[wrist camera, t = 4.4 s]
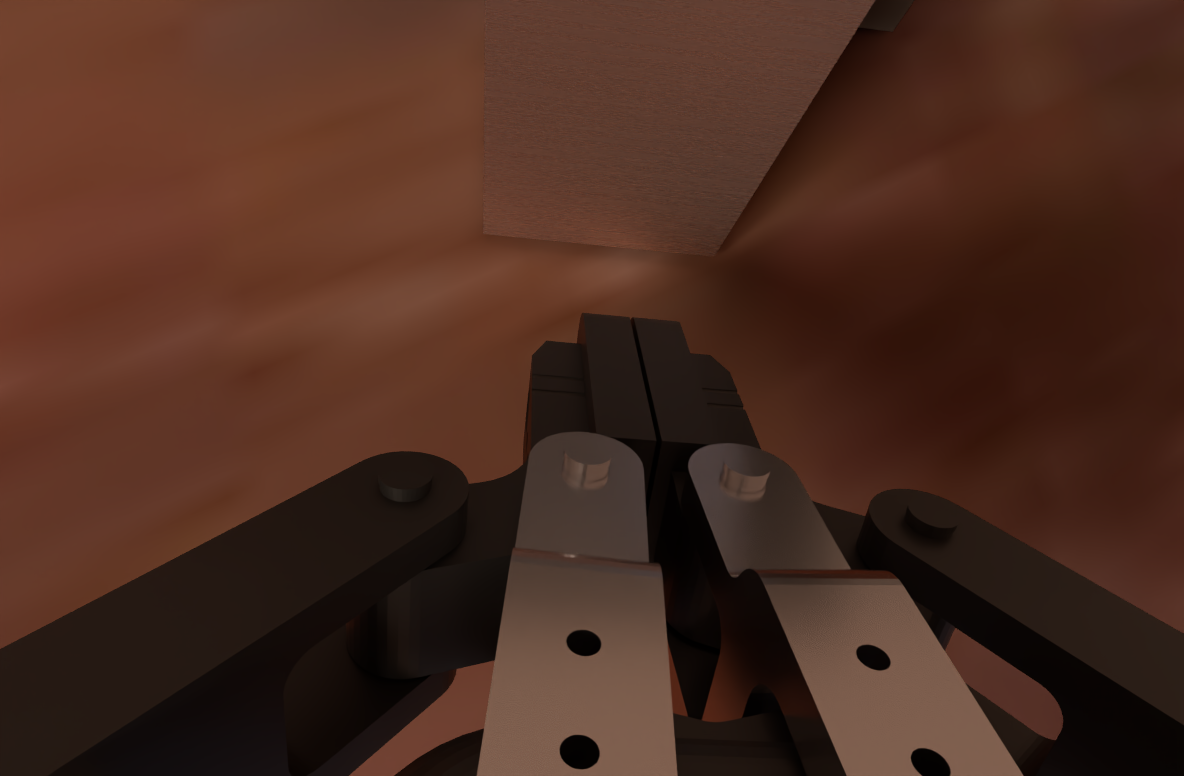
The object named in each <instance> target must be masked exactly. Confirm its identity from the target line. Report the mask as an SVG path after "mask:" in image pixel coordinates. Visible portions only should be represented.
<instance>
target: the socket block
mask: <svg viewBox="0 0 1184 776" xmlns="http://www.w3.org/2000/svg"><path fill="white" fill-rule="evenodd" d="M913 2H914V0H875V2H874V3H873V5H872V6H871V8H870V9H869V11H868V13H867V14H866V16H865V17H864V19H863V21H862V22H861V24H860V25H859V27H860V28H867V29H875V30H883V31H890V32H893V30H894V29H895V28H896V26H897V25H898V23H899V22H900V20H901V19H902V17H903V16H904V15H905V13H906V12H907V10H908V9H909V7H910V6H911V4H912V3H913Z"/></svg>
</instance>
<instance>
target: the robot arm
mask: <svg viewBox="0 0 1184 776" xmlns="http://www.w3.org/2000/svg"><path fill="white" fill-rule="evenodd" d="M955 627H956V628H957V629H959V630H960V631H962V632H963V633H965V634H966V635H968V636H969V637H971V638H972V639H974V640H975V641H977V642H978V643H980V644H981V645H983V646H984V647H986V648H987V649H989V650H990V651H992V652H993V653H995V654H996V655H998V656H999V657H1001V658H1002V659H1004V660H1005V661H1007V662H1008V663H1010V664H1011V665H1013V666H1014V667H1016V668H1017V669H1019V670H1020V671H1022V672H1023V673H1025V674H1026V675H1028V676H1029V677H1031V678H1032V679H1034V680H1035V681H1037V682H1038V683H1040V684H1041V685H1042V686H1044V687H1045V688H1046V689H1047V690H1048V691H1049V692H1050V693H1051V694H1052V695H1053V697H1054V698H1055V699H1056V701H1057V702H1058V704H1059V706H1060V708H1061V711H1062V715H1063V728H1062V730H1061V732H1060V734H1059V736H1058V738H1057V739H1056V740H1051V739H1048V738H1045V737H1043V736H1040V735H1039V734H1037V733H1035V732H1034V731H1032V730H1031V729H1030V728H1028V727H1027V726H1025V725H1024V724H1023V723H1021V722H1020V721H1018V720H1017V719H1015V718H1014V717H1013V716H1011V715H1010V714H1008V713H1007V712H1005V711H1004V710H1003V709H1001V708H1000V707H998V706H997V705H996V704H994V703H993V702H991V701H990V700H988V699H987V698H986V697H984V696H983V695H981V694H980V693H979V692H977V691H976V690H974V689H973V688H971V687H970V686H969V685H967V684H966V683H965V682H964V681H963V679H962V678H961V676H960V674H959V673H958V671H957V670H956V668H955V667H954V665H953V663H952V662H951V660H950V659H949V657H948V656H947V654H946V652H945V649H946V647H947V645H948V642H949V640H950V638H951V636H952V633H953V631H954V629H955ZM494 660H495V663H494V669H493V676H492V682H491V688H490V695H489V701H488V708H487V714H486V720H485V727H484V729H481V730H478V731H475V732H471V733H468V734H465V735H462V736H460V737H457V738H455V739H453V740H451V741H448V742H446V743H444V744H441V745H439V746H438V747H436V748H434V749H432V750H431V751H429V752H427V753H426V754H424V755H422V756H420V757H419V758H417V759H416V760H415V761H413V762H412V763H410V764H409V765H408V766H406V767H405V768H404V769H402V770H401V771H400V772H398V773H397V774H396V775H394V776H1184V634H1183V633H1181V632H1180V631H1178V630H1176V629H1174V628H1173V627H1171V626H1169V625H1167V624H1165V623H1164V622H1162V621H1160V620H1158V619H1157V618H1155V617H1153V616H1151V615H1150V614H1148V613H1146V612H1144V611H1143V610H1141V609H1139V608H1137V607H1136V606H1134V605H1132V604H1130V603H1129V602H1127V601H1125V600H1123V599H1122V598H1120V597H1118V596H1116V595H1115V594H1113V593H1111V592H1109V591H1108V590H1106V589H1104V588H1102V587H1101V586H1099V585H1097V584H1095V583H1093V582H1092V581H1090V580H1088V579H1086V578H1085V577H1083V576H1081V575H1079V574H1078V573H1076V572H1074V571H1072V570H1071V569H1069V568H1067V567H1065V566H1064V565H1062V564H1060V563H1058V562H1057V561H1055V560H1053V559H1051V558H1050V557H1048V556H1046V555H1044V554H1043V553H1041V552H1039V551H1037V550H1036V549H1034V548H1032V547H1030V546H1029V545H1027V544H1025V543H1023V542H1021V541H1020V540H1018V539H1016V538H1014V537H1013V536H1011V535H1009V534H1007V533H1006V532H1004V531H1002V530H1000V529H999V528H997V527H995V526H993V525H992V524H990V523H988V522H986V521H985V520H983V519H981V518H979V517H978V516H976V515H974V514H972V513H971V512H969V511H967V510H965V509H964V508H962V507H960V506H958V505H956V504H954V503H953V502H951V501H949V500H946V499H944V498H942V497H939V496H936V495H933V494H930V493H926V492H922V491H918V490H911V489H892V490H887V491H884V492H881V493H879V494H877V495H876V496H875V497H874V498H873V499H872V500H871V502H870V505H869V508H868V511H867V513H866V516H862V515H858V514H855V513H851V512H847V511H844V510H840V509H836V508H833V507H829V506H826V505H822V504H819V503H816V502H814V501H812V500H811V498H810V497H809V495H808V493H807V491H806V490H805V488H804V486H803V484H802V483H801V481H800V479H799V477H798V476H797V474H796V473H795V472H794V470H793V469H792V468H791V467H790V466H789V465H788V464H786V463H785V462H784V461H783V460H781V459H779V458H778V457H776V456H774V455H772V454H770V453H768V452H766V451H763V450H761V448H760V446H759V443H758V441H757V438H756V436H755V433H754V431H753V428H752V426H751V423H750V421H749V418H748V416H747V414H746V411H745V410H743V404H742V401H741V399H740V396H739V394H737V389H736V386H735V384H734V381H733V379H732V377H731V374H730V372H729V371H728V370H727V369H725V368H724V367H723V366H722V365H721V364H720V363H718V362H717V361H716V360H715V359H714V358H713V357H712V356H710V355H703V354H691V353H690V351H689V348H688V345H687V342H686V339H685V336H684V333H683V330H682V327H681V325H680V323H679V322H677V321H667V320H656V319H645V318H634V317H632V318H631V320H630V318H629V317H622V316H611V315H600V314H589V313H582V315H581V318H580V324H579V330H578V338H577V344H576V343H565V342H554V341H546V342H545V343H544V344H543V345H542V346H541V347H540V348H539V349H538V350H537V351H536V352H535V353H534V354H533V355H532V363H531V373H530V383H529V393H528V402H527V412H526V422H525V432H524V446H523V465H522V466H521V467H520V468H518V469H517V470H516V471H514V472H512V473H511V474H508V475H506V476H504V477H501V478H498V479H495V480H491V481H486V482H480V483H473V484H468V481H467V478H466V476H465V475H464V474H463V472H462V471H461V470H460V469H459V468H458V467H457V466H455V465H454V464H452V463H451V462H449V461H447V460H445V459H443V458H440V457H437V456H434V455H431V454H426V453H421V452H404V451H401V452H390V453H385V454H380V455H376V456H373V457H370V458H368V459H365V460H363V461H361V462H359V463H357V464H355V465H353V466H351V467H350V468H348V469H346V470H344V471H342V472H340V473H338V474H336V475H334V476H332V477H330V478H328V479H326V480H325V481H323V482H321V483H319V484H317V485H315V486H313V487H311V488H309V489H307V490H305V491H303V492H301V493H300V494H298V495H296V496H294V497H292V498H290V499H288V500H286V501H284V502H282V503H280V504H278V505H276V506H275V507H273V508H271V509H269V510H267V511H265V512H263V513H261V514H259V515H257V516H255V517H253V518H251V519H250V520H248V521H246V522H244V523H242V524H240V525H238V526H236V527H234V528H232V529H230V530H228V531H227V532H225V533H223V534H221V535H219V536H217V537H215V538H213V539H211V540H209V541H207V542H205V543H203V544H202V545H200V546H198V547H196V548H194V549H192V550H190V551H188V552H186V553H184V554H182V555H180V556H178V557H177V558H175V559H173V560H171V561H169V562H167V563H165V564H163V565H161V566H159V567H157V568H155V569H153V570H152V571H150V572H148V573H146V574H144V575H142V576H140V577H138V578H136V579H134V580H132V581H130V582H128V583H127V584H125V585H123V586H121V587H119V588H117V589H115V590H113V591H111V592H109V593H107V594H105V595H103V596H102V597H100V598H98V599H96V600H94V601H92V602H90V603H88V604H86V605H84V606H82V607H80V608H78V609H77V610H75V611H73V612H71V613H69V614H67V615H65V616H63V617H61V618H59V619H57V620H55V621H53V622H52V623H50V624H48V625H46V626H44V627H42V628H40V629H38V630H36V631H34V632H32V633H30V634H28V635H27V636H25V637H23V638H21V639H19V640H17V641H15V642H13V643H11V644H9V645H7V646H5V647H4V648H2V649H0V776H349V775H350V774H351V773H352V772H353V771H355V770H356V769H357V768H358V767H359V766H360V765H361V764H363V763H364V762H365V761H366V760H367V759H368V758H370V757H371V756H372V755H373V754H374V753H375V752H377V751H378V750H379V749H380V748H381V747H382V746H383V745H385V744H386V743H387V742H388V741H389V740H390V739H392V738H393V737H394V736H395V735H396V734H397V733H399V732H400V731H401V730H402V729H403V728H404V727H405V726H407V725H408V724H409V723H410V722H411V721H412V720H414V719H415V718H416V717H417V716H418V715H419V714H421V713H422V712H423V711H424V710H425V709H426V708H427V707H429V706H430V705H431V704H432V703H433V702H434V701H436V700H437V699H438V698H439V697H440V696H441V695H442V694H443V693H444V692H445V691H446V690H447V689H448V688H449V686H450V685H451V684H452V682H453V680H454V677H455V675H456V669H458V668H463V667H467V666H471V665H476V664H480V663H485V662H489V661H494Z"/></svg>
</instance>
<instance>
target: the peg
mask: <svg viewBox="0 0 1184 776" xmlns="http://www.w3.org/2000/svg"><path fill="white" fill-rule="evenodd" d="M874 2H875V0H485V101H484V213H483V234H490V235H500V236H510V237H520V238H531V239H541V240H551V241H561V242H571V243H581V244H591V245H601V246H611V247H622V248H632V249H642V250H652V251H662V252H672V253H682V254H692V255H702V256H713V257H714V256H715V254H716V253H717V251H718V250H719V248H720V246H721V245H722V243H723V242H724V240H725V239H726V237H727V235H728V234H729V232H730V231H731V229H732V227H733V226H734V224H735V223H736V221H737V219H738V218H739V216H740V215H741V213H742V211H743V210H744V208H745V207H746V205H747V204H748V202H749V200H750V199H751V197H752V196H753V194H754V192H755V191H756V189H757V188H758V186H759V184H760V183H761V181H762V180H763V178H764V176H765V175H766V173H767V172H768V170H769V169H770V167H771V165H772V164H773V162H774V161H775V159H776V157H777V156H778V154H779V153H780V151H781V149H782V148H783V146H784V145H785V143H786V141H787V140H788V138H789V137H790V135H791V134H792V132H793V130H794V129H795V127H796V126H797V124H798V122H799V121H800V119H801V118H802V116H803V114H804V113H805V111H806V110H807V108H808V106H809V105H810V103H811V102H812V100H813V99H814V97H815V95H816V94H817V92H818V91H819V89H820V87H821V86H822V84H823V83H824V81H825V79H826V78H827V76H828V75H829V73H830V71H831V70H832V68H833V67H834V65H835V64H836V62H837V60H838V59H839V57H840V56H841V54H842V52H843V51H844V49H845V48H846V46H847V44H848V43H849V41H850V40H851V38H852V37H853V35H854V33H855V32H856V30H857V29H858V27H859V25H860V24H861V22H862V21H863V19H864V17H865V16H866V14H867V13H868V11H869V9H870V8H871V6H872V5H873V3H874Z"/></svg>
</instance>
